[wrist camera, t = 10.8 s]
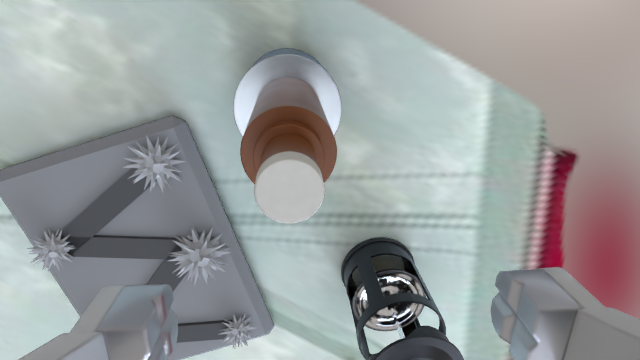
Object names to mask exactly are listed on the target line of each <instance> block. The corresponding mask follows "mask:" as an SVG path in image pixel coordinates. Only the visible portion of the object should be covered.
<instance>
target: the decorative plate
mask: <svg viewBox="0 0 640 360" xmlns="http://www.w3.org/2000/svg"><path fill="white" fill-rule="evenodd" d="M0 197H1V198H2V200H3V201H4V203H5V204H6V206H7V207H8V209H9V210H10V212H11V213H12V215H13V216H14V218H15V219H16V221H17V222H18V224H19V225H20V227H21V228H22V230H23V231H24V233H25V234H26V236H27V237H28V239H29V240H30V242H31V243H32V245H33V246H34V248H27V249H34V250H32V251H30V252H33V253H29V254H39V255H38V256H37V257H36V258H35V260H37V259H39V258H41V259H40V260H39V261H38V262H37V263H40V262H42V261H44V266H43V269H44V267H45V266H46V267H47V268H48V271H49V270H50V272H51V273H52V275H53V276H54V278H55V279H56V281H57V282H58V284H59V285H60V287H61V288H62V290H63V291H64V293H65V294H66V296H67V297H68V299H69V300H70V302H71V303H72V305H73V306H74V308H75V309H76V311H77V312H78V314H79V315H80V317H81V316H82V314H83V313H84V312H85V310H86V309H87V307H88V306H89V305H90V303H91V302H92V300H93V299H94V297H95V296H96V295H97V293H98V292H99V290H100V289H101V288H103V287H105V286H118V285H125V286H127V285H161V284H169V285H170V286H171V287H172V292H173V297H174V300H173V302H172V305H171V307H170V308H171V309H172V310H173V311H174V312H175V313H176V314H177V321H178V335H177V342H176V346H175V349H174V353H173V355H171V356H170V357H169V358H168V359H167V360H182V359H185V358H188V357H192V356H195V355H199V354H202V353H206V352H209V351H212V350H216V349H219V348H223V347H226V346H230V345H233V347H234V345H235V346H236V344H237V343H238V347H239V343H240V344H241V346H242V342H243V343H244V344H245V343H246V344H247V342H246V341H247V340H251V339H254V338H257V337H261V336H264V335H267V334H269V333H270V331H271V330H272V328H273V327H274V324H273V321H272V319H271V317H270V314H269V312H268V310H267V308H266V305H265V303H264V301H263V298H262V296H261V294H260V291H259V289H258V287H257V284H256V282H255V280H254V278H253V275H252V273H251V271H250V268H249V266H248V264H247V261H246V259H245V257H244V255H243V252H242V250H241V248H240V245H239V243H238V241H237V238H236V236H235V234H234V231H233V229H232V227H231V225H230V222H229V220H228V218H227V215H226V213H225V211H224V208H223V206H222V204H221V202H220V199H219V197H218V195H217V192H216V190H215V188H214V185H213V183H212V181H211V178H210V176H209V174H208V172H207V169H206V167H205V165H204V162H203V160H202V158H201V155H200V153H199V151H198V149H197V146H196V144H195V142H194V139H193V137H192V135H191V132H190V130H189V128H188V126H187V123H186V122H185V121H183V120H181V119H179V118H176V117H174V116H170V117H166V118H163V119H160V120H157V121H154V122H150V123H147V124H144V125H141V126H138V127H135V128H131V129H128V130H125V131H122V132H119V133H115V134H112V135H109V136H106V137H103V138H100V139H96V140H93V141H90V142H87V143H84V144H80V145H77V146H74V147H71V148H68V149H65V150H61V151H58V152H55V153H52V154H49V155H46V156H42V157H39V158H36V159H33V160H30V161H26V162H23V163H20V164H17V165H14V166H11V167H7V168H4V169H1V170H0ZM35 260H34V259H33V261H35ZM33 261H32V262H33ZM37 263H36V264H37ZM36 264H34V265H36ZM34 265H33V266H34ZM45 269H46V268H45ZM246 344H245V345H246ZM247 346H248V345H247ZM234 349H235V348H234Z"/></svg>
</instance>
